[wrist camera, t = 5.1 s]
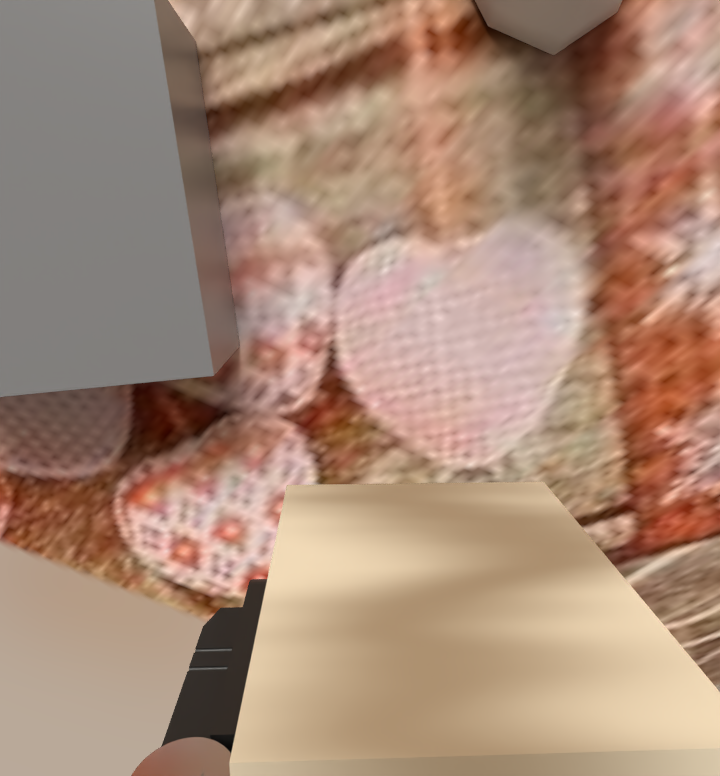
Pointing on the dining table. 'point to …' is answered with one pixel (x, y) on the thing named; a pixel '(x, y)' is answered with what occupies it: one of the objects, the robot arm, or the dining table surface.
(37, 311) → the grey box
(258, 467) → the dining table surface
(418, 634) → the birch block
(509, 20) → the flask
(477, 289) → the dining table surface
